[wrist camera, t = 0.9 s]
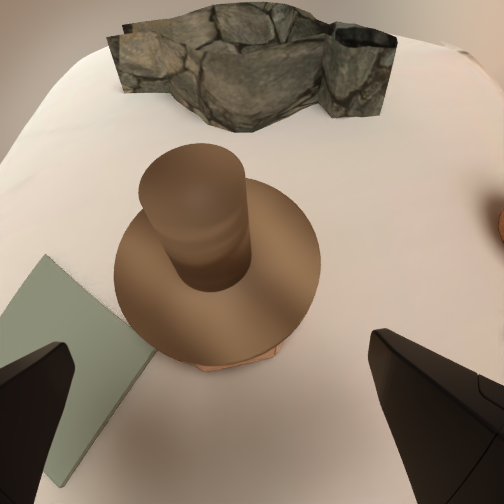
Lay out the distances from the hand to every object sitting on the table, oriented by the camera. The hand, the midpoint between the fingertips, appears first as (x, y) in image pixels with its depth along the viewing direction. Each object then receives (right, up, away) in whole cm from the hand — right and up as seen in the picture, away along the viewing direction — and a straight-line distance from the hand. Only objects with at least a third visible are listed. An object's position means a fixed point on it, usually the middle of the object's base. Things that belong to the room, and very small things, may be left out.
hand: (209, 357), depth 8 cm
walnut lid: (-1, +2, +12) cm, 13 cm away
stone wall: (0, +24, +30) cm, 38 cm away
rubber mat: (-16, -7, +13) cm, 22 cm away
